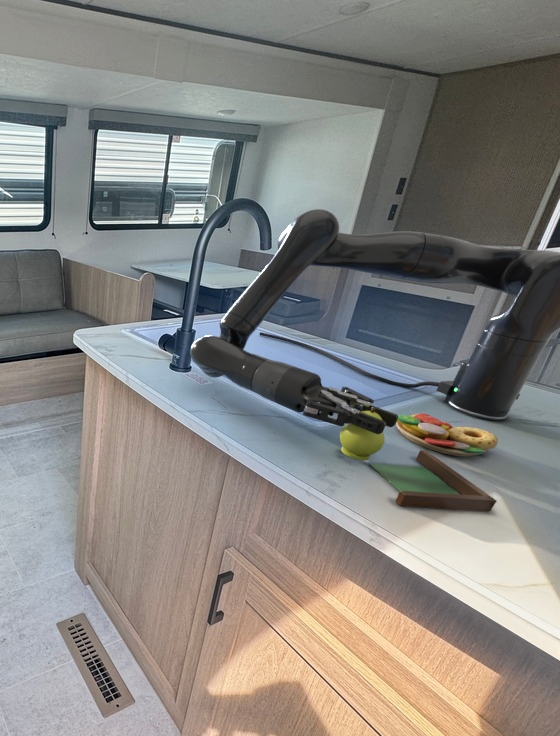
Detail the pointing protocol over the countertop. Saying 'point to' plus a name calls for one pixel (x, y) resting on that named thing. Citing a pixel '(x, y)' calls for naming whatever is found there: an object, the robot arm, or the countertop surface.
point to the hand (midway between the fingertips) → (389, 424)
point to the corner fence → (434, 486)
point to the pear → (361, 440)
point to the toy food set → (445, 435)
